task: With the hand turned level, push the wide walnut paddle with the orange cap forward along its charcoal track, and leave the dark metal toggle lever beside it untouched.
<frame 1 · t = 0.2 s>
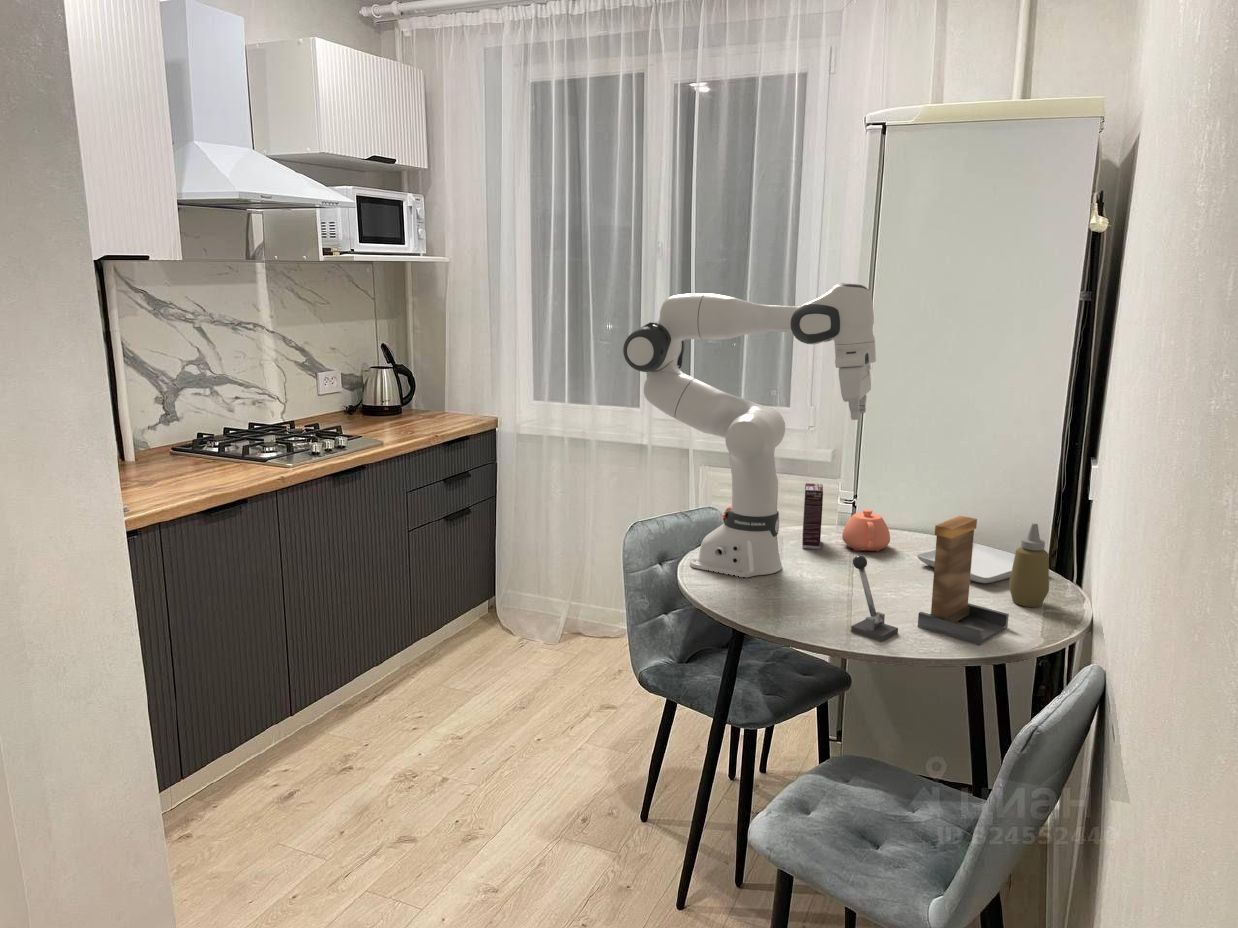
hand: (858, 416, 203), 39 cm above the table, tool pointing down, fingers open, 8 cm apart
sugar bowl: (865, 549, 234), on the table
walnut paddle: (952, 570, 181), point 11 cm above the table, slide at 0.0 cm
squeeze bottle: (1027, 604, 195), on the table
supplement box: (811, 545, 238), on the table
paddle track: (948, 623, 183), on the table
salad plate: (977, 571, 217), on the table
lever base: (874, 632, 179), on the table
toggle lever: (867, 590, 178), point 8 cm above the table, hinge at -20.0°
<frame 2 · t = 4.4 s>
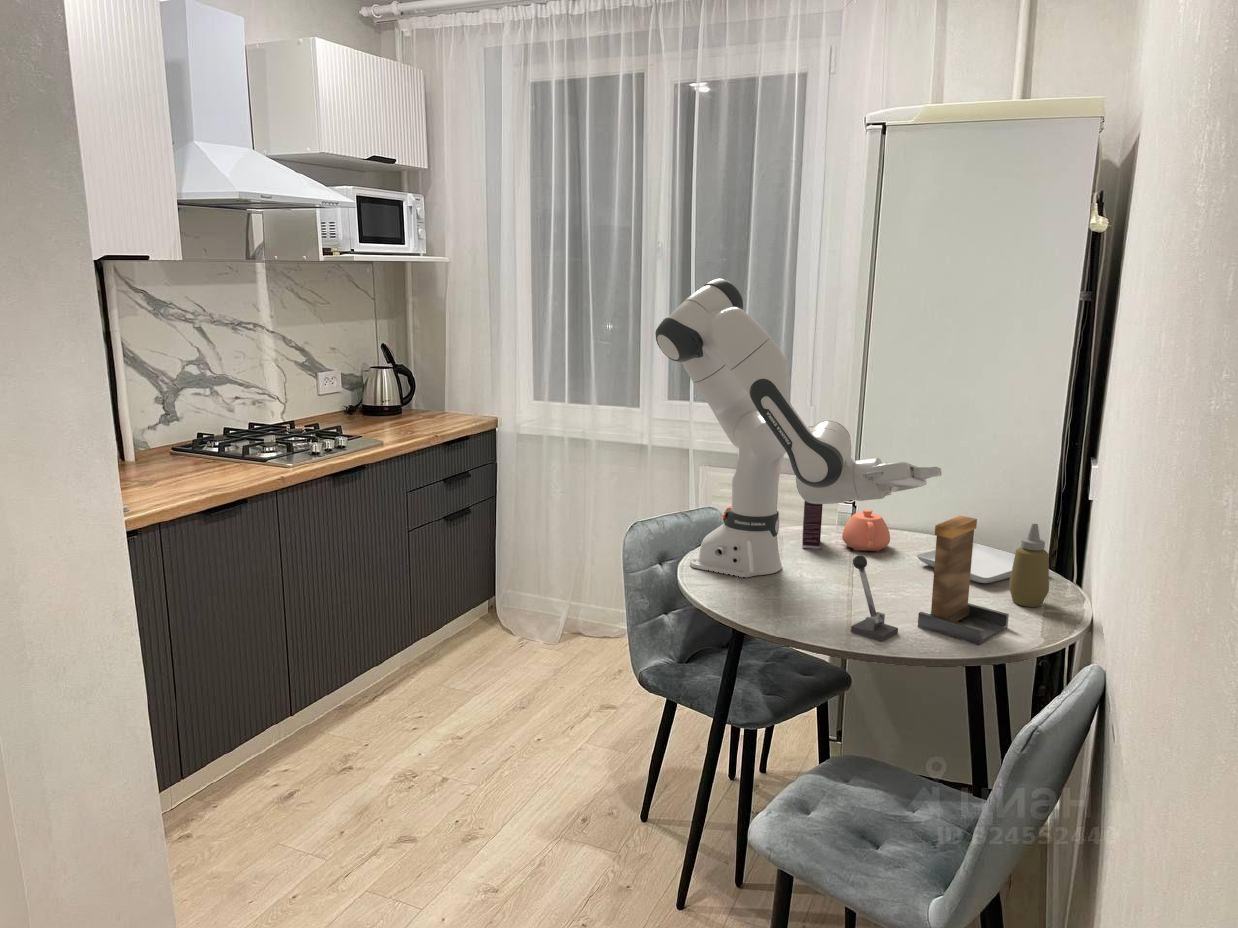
hand: (940, 471, 183), 31 cm above the table, tool horizontal, fingers closed
nothing on the table moved.
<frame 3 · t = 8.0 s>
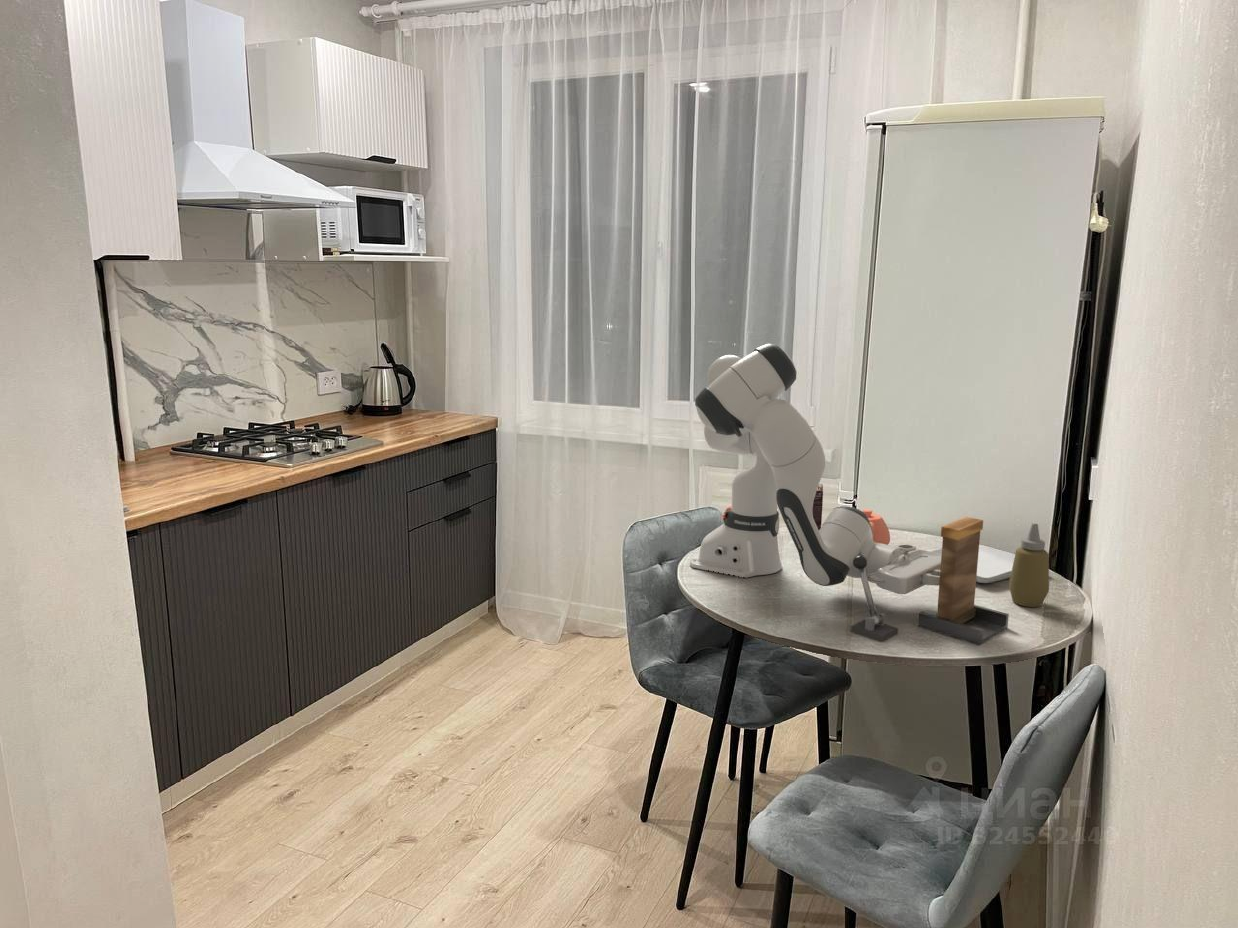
hand: (950, 581, 182), 9 cm above the table, tool horizontal, fingers closed, pressing on walnut paddle
walnut paddle: (958, 572, 180), point 11 cm above the table, slide at 1.3 cm, touching gripper
everything else where it was.
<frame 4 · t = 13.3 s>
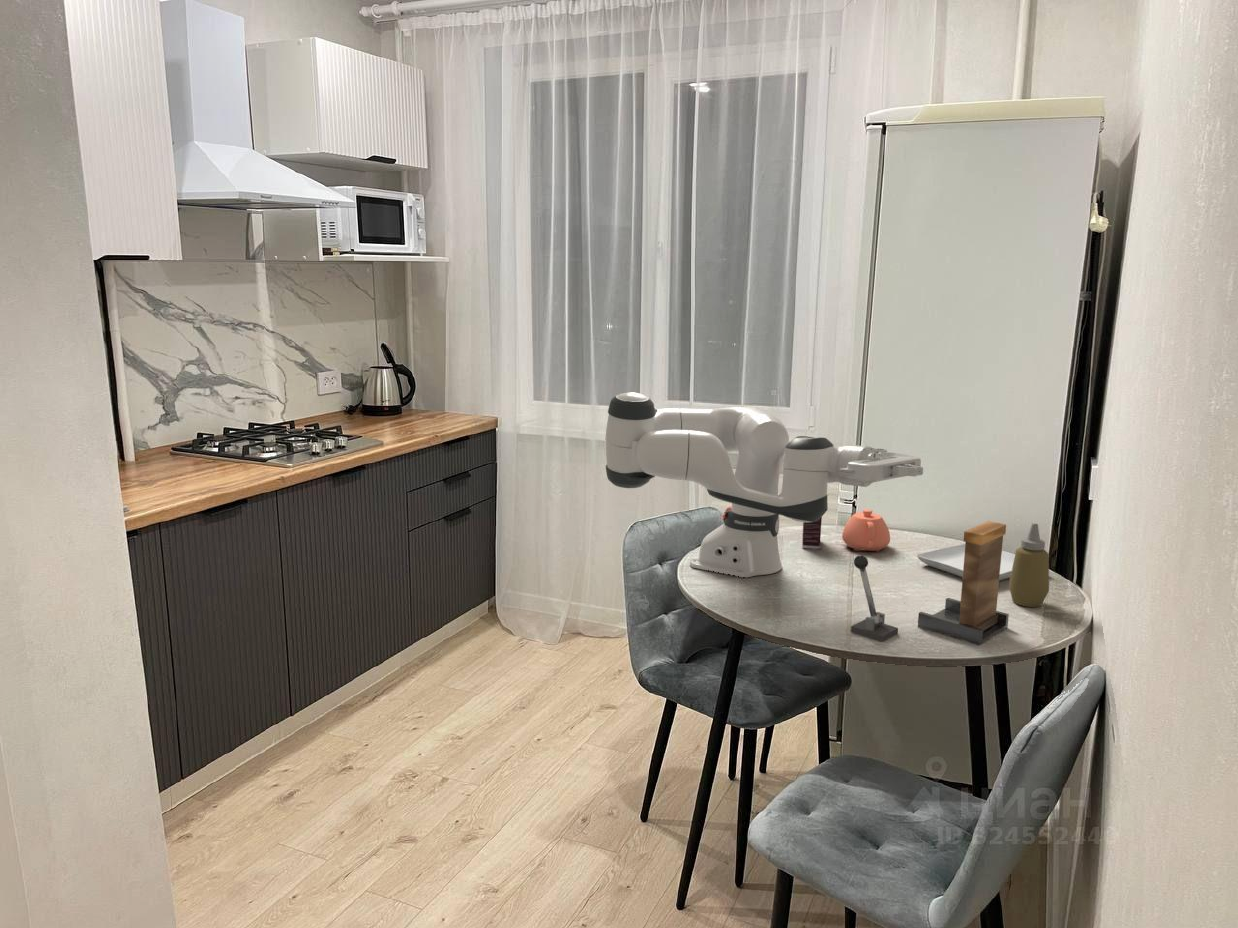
hand: (919, 471, 183), 31 cm above the table, tool horizontal, fingers closed
walnut paddle: (981, 577, 177), point 11 cm above the table, slide at 6.0 cm
toggle lever: (867, 590, 178), point 8 cm above the table, hinge at -18.9°
everything else where it was.
at the end: walnut paddle slide at 6.0 cm; toggle lever at -19° (first picture: -20°) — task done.
